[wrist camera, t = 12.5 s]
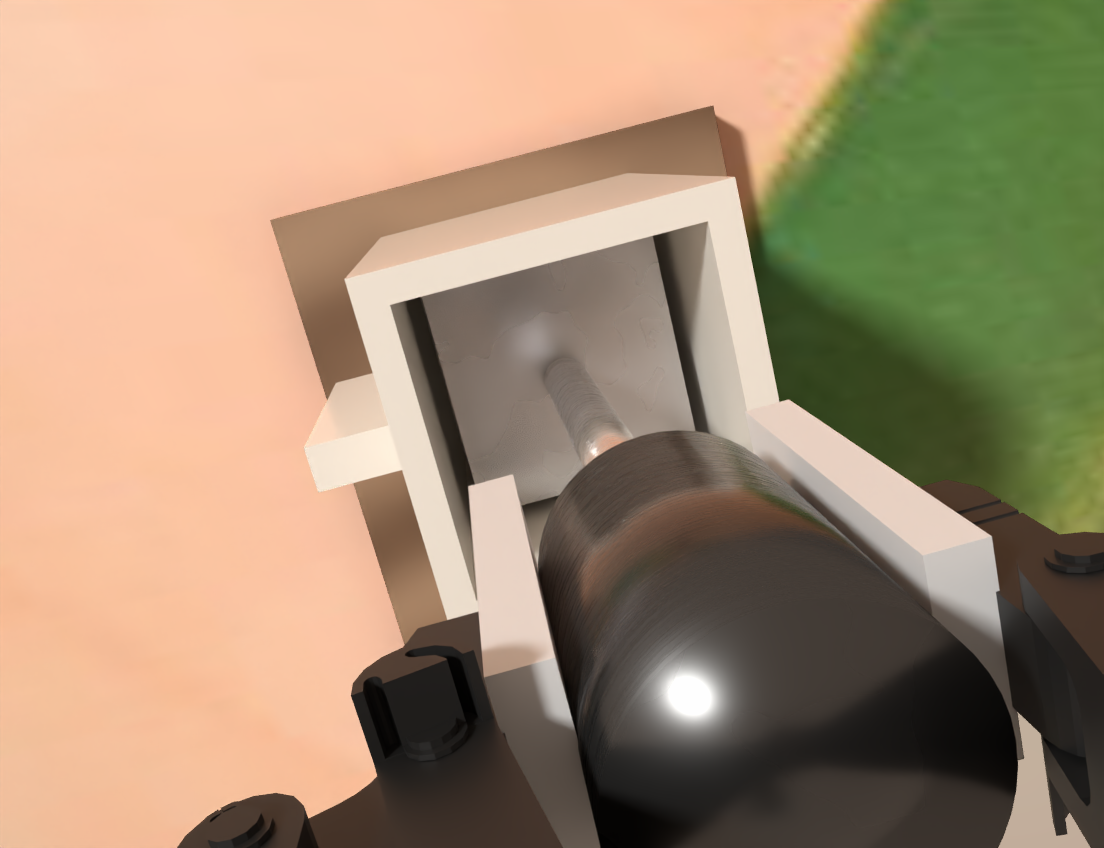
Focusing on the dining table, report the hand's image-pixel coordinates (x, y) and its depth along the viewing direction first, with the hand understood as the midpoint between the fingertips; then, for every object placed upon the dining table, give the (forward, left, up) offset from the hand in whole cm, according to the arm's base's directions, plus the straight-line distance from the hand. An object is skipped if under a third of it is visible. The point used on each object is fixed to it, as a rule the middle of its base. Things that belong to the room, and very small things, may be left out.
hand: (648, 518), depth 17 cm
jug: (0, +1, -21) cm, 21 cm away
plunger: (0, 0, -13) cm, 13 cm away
